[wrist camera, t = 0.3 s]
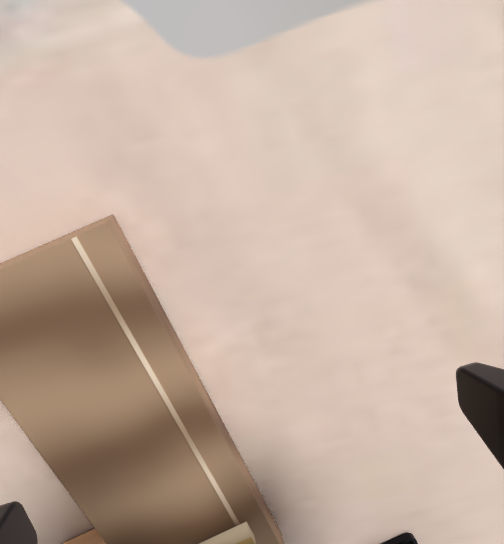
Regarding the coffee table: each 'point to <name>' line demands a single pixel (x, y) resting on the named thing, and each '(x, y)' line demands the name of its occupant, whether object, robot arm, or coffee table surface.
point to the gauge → (235, 540)
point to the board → (118, 397)
